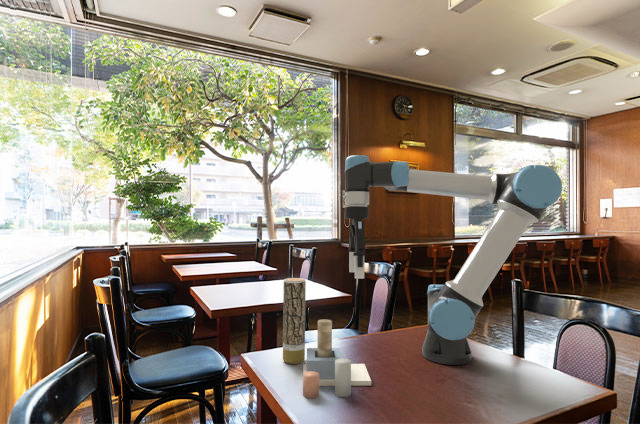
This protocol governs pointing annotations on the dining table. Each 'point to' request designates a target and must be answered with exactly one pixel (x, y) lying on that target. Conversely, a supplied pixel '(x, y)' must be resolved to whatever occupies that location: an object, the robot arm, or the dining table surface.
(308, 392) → the short dowel
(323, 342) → the long dowel
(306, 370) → the socket board
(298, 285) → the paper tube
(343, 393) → the medium dowel
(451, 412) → the dining table surface
